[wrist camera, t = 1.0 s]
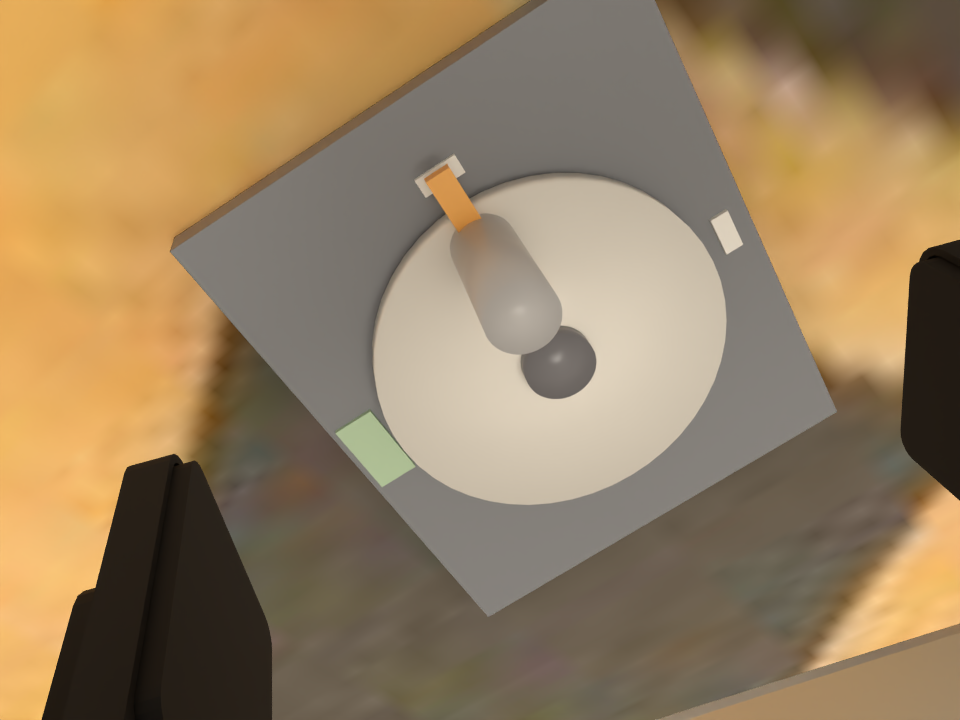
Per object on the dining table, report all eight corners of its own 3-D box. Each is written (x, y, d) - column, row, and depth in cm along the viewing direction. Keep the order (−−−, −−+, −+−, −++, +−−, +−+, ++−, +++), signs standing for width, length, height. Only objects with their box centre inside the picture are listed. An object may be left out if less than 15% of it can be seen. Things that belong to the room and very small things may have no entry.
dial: (762, 376, 41) (856, 472, 34) (487, 541, 42) (524, 664, 36) (603, 49, 32) (685, 92, 26) (265, 269, 34) (261, 364, 27)
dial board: (617, -57, 32) (632, -54, 31) (820, 396, 44) (839, 414, 43) (174, 237, 34) (169, 253, 33) (482, 596, 46) (489, 619, 45)
